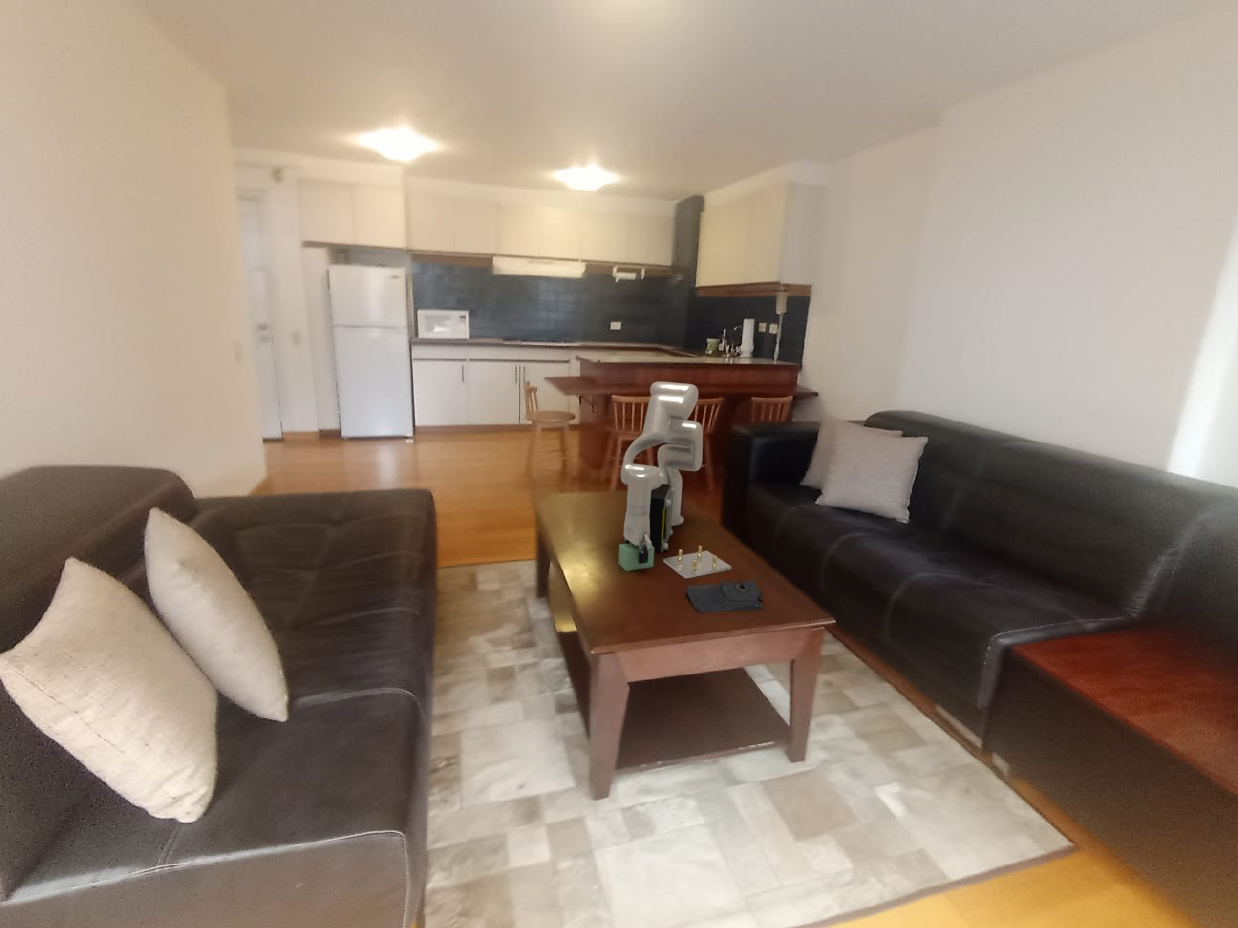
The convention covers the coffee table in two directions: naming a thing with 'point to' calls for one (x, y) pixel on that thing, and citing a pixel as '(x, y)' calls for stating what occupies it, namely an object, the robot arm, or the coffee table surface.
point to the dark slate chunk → (726, 597)
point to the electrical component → (661, 516)
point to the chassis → (696, 563)
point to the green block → (633, 557)
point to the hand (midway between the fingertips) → (636, 557)
